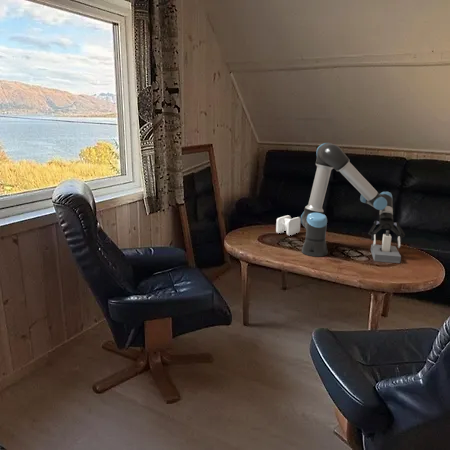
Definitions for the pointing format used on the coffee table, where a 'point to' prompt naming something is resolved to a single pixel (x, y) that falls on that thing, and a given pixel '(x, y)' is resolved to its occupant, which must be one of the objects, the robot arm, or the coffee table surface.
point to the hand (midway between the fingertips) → (386, 246)
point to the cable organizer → (288, 225)
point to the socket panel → (385, 254)
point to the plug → (386, 242)
